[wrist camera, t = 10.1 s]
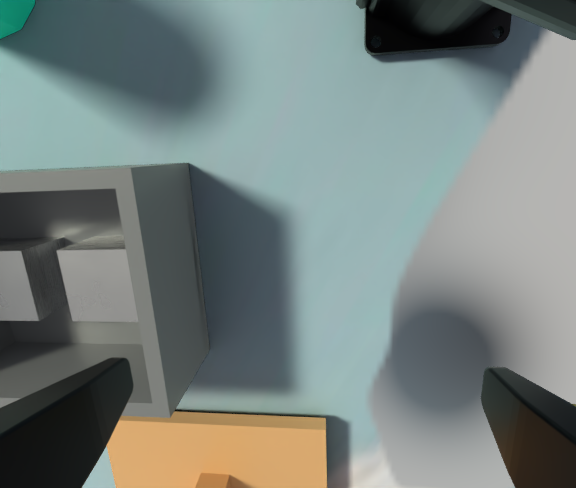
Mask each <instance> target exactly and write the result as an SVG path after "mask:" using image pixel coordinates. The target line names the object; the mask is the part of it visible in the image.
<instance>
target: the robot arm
mask: <svg viewBox="0 0 576 488" xmlns="http://www.w3.org/2000/svg"><path fill="white" fill-rule="evenodd" d="M356 4H357V6H358V7H359V8H360V9H363V8H365V43H364V45H365V50H366V51H367V53H369V54H370V55H387V54H401V53H414V52H427V51H440V50H453V49H466V48H479V47H493V46H496V45H498V44H500V43H502V42H503V41H504V40H506V38H507V37H508V35H509V32H510V24H511V14H513V15H515V16H518V17H520V18H522V19H525V20H527V21H529V22H532V23H534V24H536V25H539V26H541V27H543V28H546V29H548V30H550V31H553V32H555V33H557V34H560V35H562V36H565V37H567V38H569V39H571V40H576V0H356ZM493 29H498V30H499V32H500V35H499V38H495V37H494V36H493V35H492V31H493ZM374 38H376V39H378V40H379V41H380V46H379V47H376V48H375V47H373V46H372V45H371V40H372V39H374ZM133 387H134V384H133V378H132V373H131V368H130V363H129V360H128V359H127V358H125V357H111V358H108V359H106V360H104V361H102V362H100V363H97V364H95V365H93V366H91V367H89V368H86V369H84V370H82V371H80V372H78V373H75V374H73V375H71V376H69V377H67V378H65V379H62V380H60V381H58V382H56V383H54V384H51V385H49V386H47V387H45V388H43V389H40V390H38V391H36V392H34V393H32V394H30V395H27V396H25V397H23V398H21V399H19V400H16V401H14V402H12V403H10V404H8V405H6V406H3V407H1V408H0V488H82V486H83V485H84V483H85V481H86V480H87V478H88V476H89V475H90V473H91V471H92V470H93V468H94V466H95V465H96V463H97V461H98V460H99V458H100V456H101V455H102V453H103V451H104V449H105V447H106V445H107V444H108V442H109V440H110V438H111V436H112V434H113V432H114V430H115V427H116V425H117V423H118V421H119V419H120V417H121V415H122V413H123V411H124V409H125V407H126V405H127V403H128V401H129V399H130V397H131V395H132V392H133ZM481 401H482V406H483V409H484V412H485V414H486V417H487V419H488V422H489V425H490V427H491V430H492V432H493V435H494V438H495V440H496V443H497V445H498V448H499V451H500V453H501V456H502V458H503V461H504V463H505V466H506V468H507V471H508V473H509V475H510V477H511V479H512V482H513V484H514V486H515V488H576V406H574V405H573V404H571V403H569V402H567V401H565V400H564V399H562V398H560V397H558V396H556V395H555V394H553V393H551V392H549V391H547V390H546V389H544V388H542V387H540V386H538V385H536V384H535V383H533V382H531V381H529V380H527V379H526V378H524V377H522V376H520V375H518V374H517V373H515V372H513V371H511V370H509V369H507V368H505V367H487V368H486V369H485V372H484V378H483V385H482V394H481Z"/></svg>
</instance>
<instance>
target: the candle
mask: <svg viewBox="0 0 576 488" xmlns="http://www.w3.org/2000/svg"><path fill="white" fill-rule="evenodd" d="M34 6H35V0H0V39H1V38H4V37H6V36H8V35H10V34H12V33H15V32H17V31H19V30H21V29H22V27H23V25H24V24H25V22H26V20H27V18H28V16H29V15H30V13H31V11H32V9H33V7H34Z"/></svg>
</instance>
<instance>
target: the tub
mask: <svg viewBox="0 0 576 488" xmlns="http://www.w3.org/2000/svg"><path fill="white" fill-rule="evenodd" d="M94 236H124V242H125V247H126V253H127V259H128V265H129V271H130V276H131V282H132V288H133V294H134V299H135V305H136V311H137V317H138V322H91V321H72V317H71V312H70V308H69V304H67V305H65V306H63V307H62V308H60V309H58V310H57V311H55V312H53V313H51V314H50V315H48V316H46V317H45V318H43V319H41V320H40V321H0V408H1V407H3V406H6V405H8V404H10V403H12V402H14V401H16V400H19V399H21V398H23V397H25V396H27V395H30V394H32V393H34V392H36V391H38V390H40V389H43V388H45V387H47V386H49V385H51V384H54V383H56V382H58V381H60V380H62V379H65V378H67V377H69V376H71V375H73V374H75V373H78V372H80V371H82V370H84V369H86V368H89V367H91V366H93V365H95V364H97V363H100V362H102V361H104V360H106V359H108V358H111V357H125V358H127V359H128V360H129V363H130V368H131V373H132V378H133V384H134V387H133V392H132V395H131V397H130V399H129V401H128V403H127V405H126V407H125V409H124V411H123V413H122V415H121V416H138V417H161V418H171V416H172V414H173V412H174V411H175V409H176V407H177V406H178V404H179V402H180V400H181V399H182V397H183V395H184V394H185V392H186V390H187V388H188V387H189V385H190V383H191V382H192V380H193V378H194V376H195V375H196V373H197V371H198V369H199V368H200V366H201V364H202V363H203V361H204V359H205V357H206V356H207V354H208V352H209V351H210V346H209V337H208V329H207V320H206V311H205V303H204V294H203V286H202V277H201V268H200V260H199V251H198V243H197V234H196V225H195V217H194V208H193V199H192V191H191V182H190V174H189V165H188V163H174V164H151V165H128V166H106V167H83V168H60V169H38V170H15V171H0V239H3V238H39V237H64V241H65V246H66V247H67V246H70V245H72V244H75V243H78V242H81V241H83V240H86V239H89V238H91V237H94Z"/></svg>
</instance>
